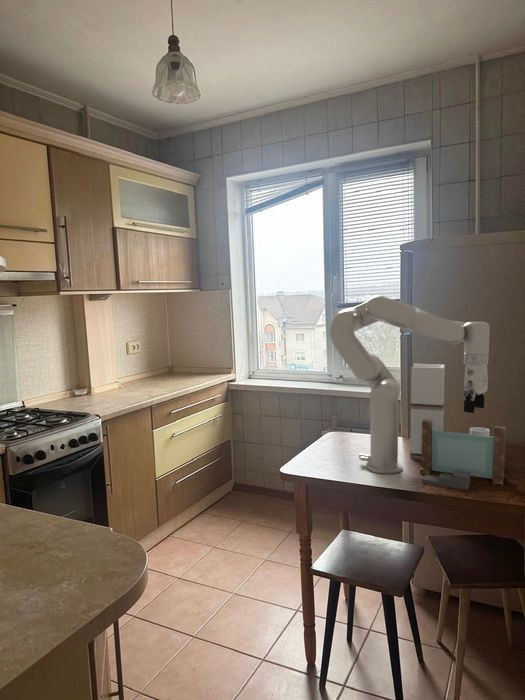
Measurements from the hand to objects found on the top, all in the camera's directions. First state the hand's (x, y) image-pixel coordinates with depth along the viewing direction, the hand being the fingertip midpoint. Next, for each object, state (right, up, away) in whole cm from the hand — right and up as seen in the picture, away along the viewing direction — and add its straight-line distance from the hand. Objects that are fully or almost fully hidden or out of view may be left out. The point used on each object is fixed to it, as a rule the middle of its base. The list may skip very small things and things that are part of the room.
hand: (474, 409), depth 167 cm
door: (-3, -22, +4) cm, 23 cm away
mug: (+11, -21, +20) cm, 31 cm away
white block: (-7, -21, +26) cm, 34 cm away
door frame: (-3, -23, +4) cm, 23 cm away
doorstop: (-11, -24, -4) cm, 27 cm away
